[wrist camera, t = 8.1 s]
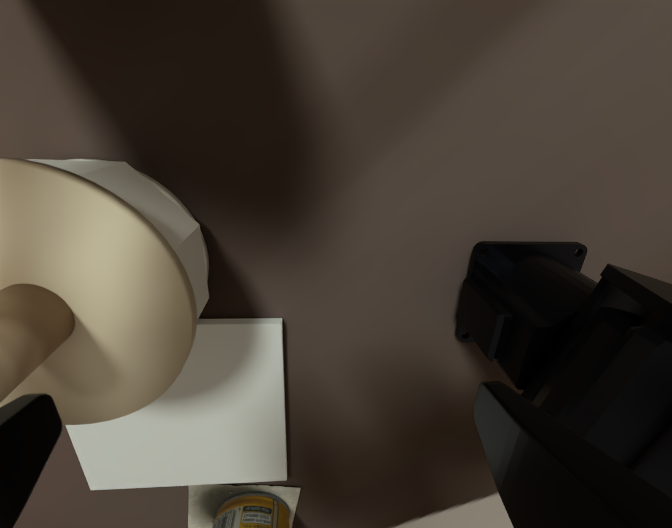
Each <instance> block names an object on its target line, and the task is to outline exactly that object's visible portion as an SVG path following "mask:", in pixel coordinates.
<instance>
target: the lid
mask: <svg viewBox="0 0 672 528" xmlns="http://www.w3.org/2000/svg"><path fill="white" fill-rule="evenodd" d="M196 329H197V307H196V301H195V296H194V292H193V288H192V285H191V282H190V280H189V277H188V275H187V272H186V270H185V268H184V266H183V264H182V263H181V261H180V259H179V257H178V255H177V254H176V252H175V251H174V250H173V248H172V247H171V245H170V244H169V243H168V241H167V240H166V238H165V237H164V236H163V235H162V234H161V233H160V232H159V231H158V230H157V229H156V227H155V226H154V225H153V224H152V223H151V222H150V221H149V220H148V219H146V218H145V217H144V216H143V215H142V214H141V213H140V212H139V211H137V210H136V209H135V208H134V207H133V206H131V205H130V204H128V203H127V202H126V201H124V200H123V199H121V198H120V197H119V196H117V195H116V194H114V193H113V192H111V191H109V190H107V189H105V188H104V187H102V186H100V185H98V184H97V183H95V182H93V181H91V180H89V179H86V178H84V177H82V176H79V175H77V174H75V173H73V172H70V171H67V170H64V169H61V168H58V167H55V166H51V165H48V164H44V163H39V162H35V161H30V160H25V159H17V158H5V157H0V407H2V406H3V405H5V404H7V403H9V402H11V401H13V400H15V399H16V398H18V397H20V396H22V395H25V394H34V393H46V394H49V395H51V396H52V398H53V400H54V402H55V405H56V407H57V410H58V412H59V415H60V417H61V420H62V425H82V424H94V423H99V422H105V421H110V420H114V419H117V418H120V417H124V416H127V415H129V414H131V413H134V412H136V411H138V410H140V409H142V408H144V407H145V406H147V405H149V404H151V403H152V402H154V401H155V400H156V399H157V398H159V397H160V396H161V395H162V394H164V393H165V392H166V391H167V389H168V388H169V387H170V386H171V385H172V384H173V383H174V381H175V380H176V378H177V377H178V376H179V374H180V373H181V371H182V369H183V367H184V365H185V363H186V360H187V358H188V356H189V354H190V352H191V349H192V347H193V343H194V340H195V336H196Z"/></svg>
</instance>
